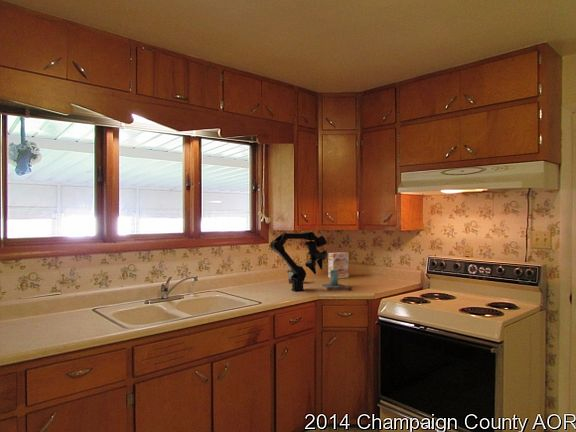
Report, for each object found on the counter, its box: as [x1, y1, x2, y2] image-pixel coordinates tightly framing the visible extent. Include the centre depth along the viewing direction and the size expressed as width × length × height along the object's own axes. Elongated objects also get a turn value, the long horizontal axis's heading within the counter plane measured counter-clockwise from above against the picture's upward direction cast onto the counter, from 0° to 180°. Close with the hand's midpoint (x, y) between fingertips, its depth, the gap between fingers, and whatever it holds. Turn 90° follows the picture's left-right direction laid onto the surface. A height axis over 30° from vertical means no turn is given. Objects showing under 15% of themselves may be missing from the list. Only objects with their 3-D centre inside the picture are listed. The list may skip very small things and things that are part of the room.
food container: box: [286, 268, 293, 285], centre depth 287 cm, size 12×6×10 cm, turn 84°
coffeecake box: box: [327, 251, 350, 279], centre depth 311 cm, size 15×7×20 cm, turn 119°
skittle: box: [330, 270, 339, 286], centre depth 274 cm, size 5×5×10 cm
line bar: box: [326, 286, 353, 292], centre depth 261 cm, size 16×2×2 cm, turn 96°
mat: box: [321, 283, 347, 288], centre depth 274 cm, size 12×12×1 cm
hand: (318, 271), depth 268 cm, fingers open, 9 cm apart
